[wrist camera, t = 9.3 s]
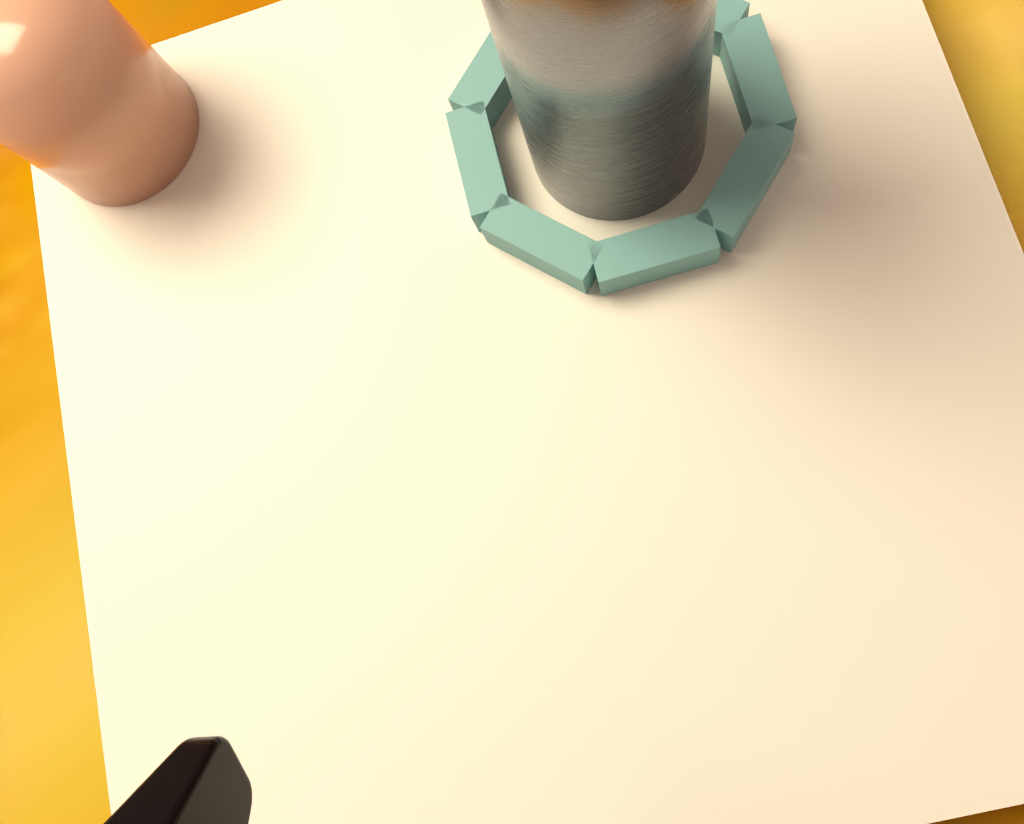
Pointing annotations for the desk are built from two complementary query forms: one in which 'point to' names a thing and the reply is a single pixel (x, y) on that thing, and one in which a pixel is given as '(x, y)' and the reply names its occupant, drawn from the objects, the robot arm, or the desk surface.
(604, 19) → the shiny metal cylinder
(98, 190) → the peach rounded cylinder
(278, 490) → the board
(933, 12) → the desk surface
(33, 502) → the desk surface
